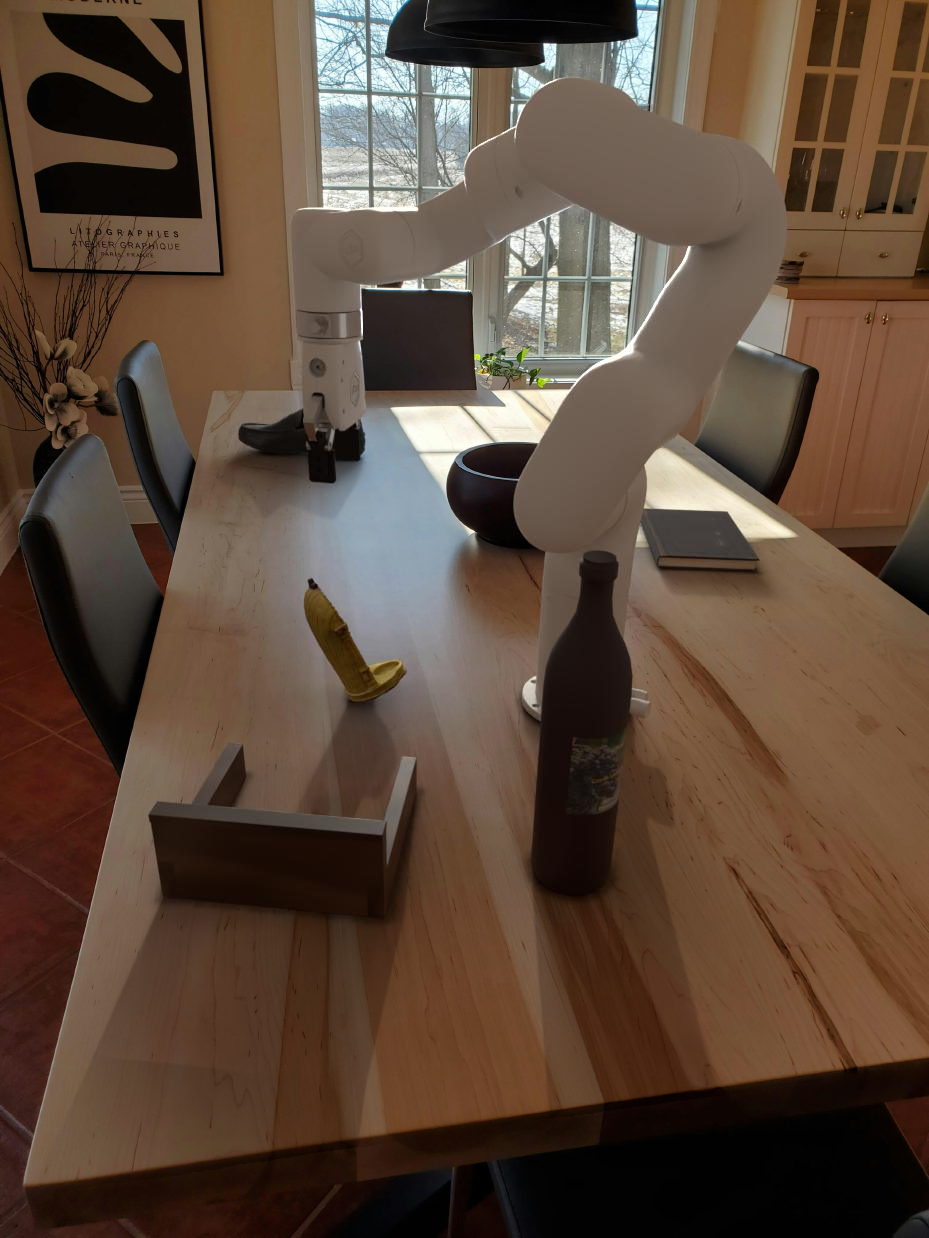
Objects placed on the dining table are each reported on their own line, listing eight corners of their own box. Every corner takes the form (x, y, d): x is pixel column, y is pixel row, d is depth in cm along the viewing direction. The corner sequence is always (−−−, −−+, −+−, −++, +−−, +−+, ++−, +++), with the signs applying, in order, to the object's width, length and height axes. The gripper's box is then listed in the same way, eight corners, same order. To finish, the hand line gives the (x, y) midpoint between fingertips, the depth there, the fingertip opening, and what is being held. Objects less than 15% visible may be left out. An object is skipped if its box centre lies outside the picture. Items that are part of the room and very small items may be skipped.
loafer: (248, 443, 206) (244, 398, 201) (372, 450, 202) (371, 405, 198) (231, 455, 196) (227, 408, 192) (361, 463, 193) (359, 415, 189)
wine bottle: (554, 906, 76) (582, 580, 63) (516, 854, 82) (535, 546, 68) (625, 884, 78) (667, 567, 65) (584, 835, 84) (614, 535, 71)
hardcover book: (725, 523, 164) (727, 511, 163) (757, 572, 143) (759, 559, 142) (637, 520, 164) (639, 508, 163) (656, 568, 144) (658, 555, 143)
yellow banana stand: (304, 714, 102) (297, 594, 96) (313, 679, 109) (306, 565, 103) (406, 714, 103) (405, 595, 96) (407, 679, 110) (407, 566, 103)
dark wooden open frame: (232, 775, 91) (224, 700, 88) (416, 790, 90) (416, 715, 86) (161, 898, 76) (147, 814, 72) (384, 919, 74) (382, 835, 70)
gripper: (337, 338, 95) (343, 494, 102) (381, 317, 110) (384, 454, 118) (269, 335, 96) (281, 489, 104) (323, 315, 111) (329, 450, 119)
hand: (335, 470), depth 111 cm, fingers open, 9 cm apart
